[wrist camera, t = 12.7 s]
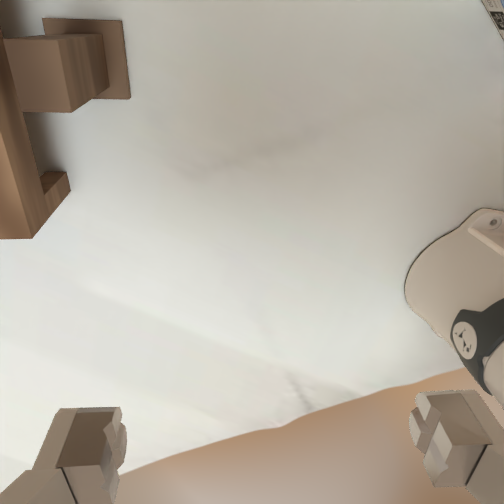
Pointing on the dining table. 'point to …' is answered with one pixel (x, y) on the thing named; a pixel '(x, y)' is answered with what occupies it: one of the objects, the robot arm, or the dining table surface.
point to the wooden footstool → (22, 169)
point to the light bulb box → (496, 13)
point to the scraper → (69, 65)
